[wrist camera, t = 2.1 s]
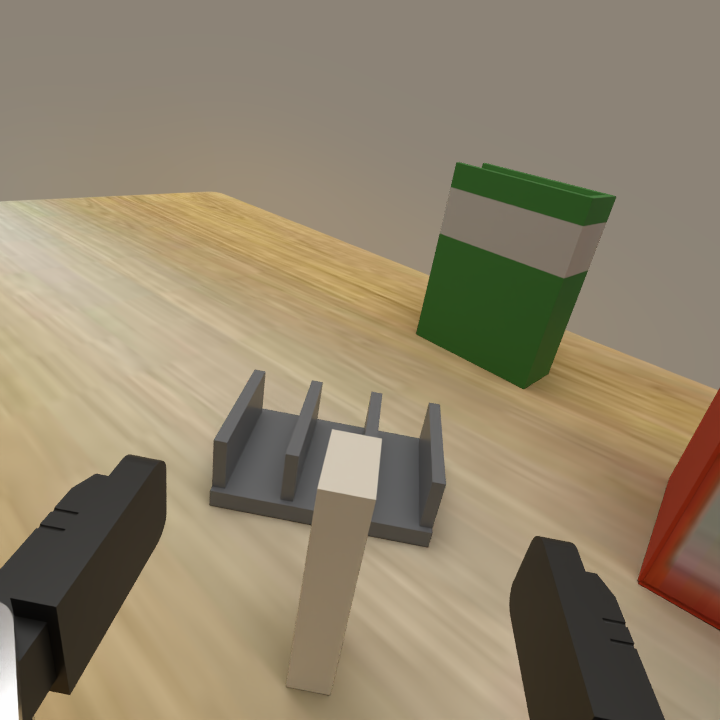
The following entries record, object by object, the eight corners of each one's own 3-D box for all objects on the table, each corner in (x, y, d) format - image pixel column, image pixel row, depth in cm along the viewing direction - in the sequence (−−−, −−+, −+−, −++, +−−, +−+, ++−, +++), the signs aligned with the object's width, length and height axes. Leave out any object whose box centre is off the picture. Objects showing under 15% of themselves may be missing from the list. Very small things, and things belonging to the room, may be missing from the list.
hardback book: (416, 334, 76) (456, 162, 64) (444, 324, 81) (486, 163, 70) (523, 389, 66) (593, 198, 55) (548, 373, 71) (616, 196, 60)
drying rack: (252, 419, 51) (256, 367, 48) (425, 452, 51) (439, 401, 48) (209, 505, 40) (211, 444, 38) (427, 547, 40) (446, 489, 37)
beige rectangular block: (301, 615, 33) (332, 429, 26) (340, 623, 33) (381, 438, 26) (285, 686, 29) (317, 488, 22) (330, 695, 29) (375, 499, 22)
